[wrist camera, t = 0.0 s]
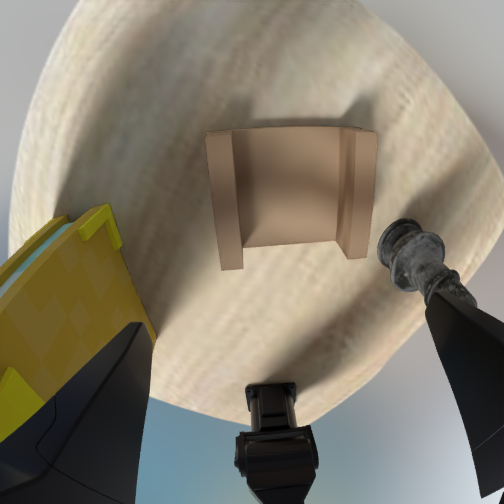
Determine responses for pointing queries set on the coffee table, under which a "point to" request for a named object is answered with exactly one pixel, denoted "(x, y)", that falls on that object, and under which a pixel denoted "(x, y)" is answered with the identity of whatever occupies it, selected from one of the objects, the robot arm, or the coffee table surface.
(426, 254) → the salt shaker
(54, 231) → the book
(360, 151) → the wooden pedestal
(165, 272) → the coffee table surface
